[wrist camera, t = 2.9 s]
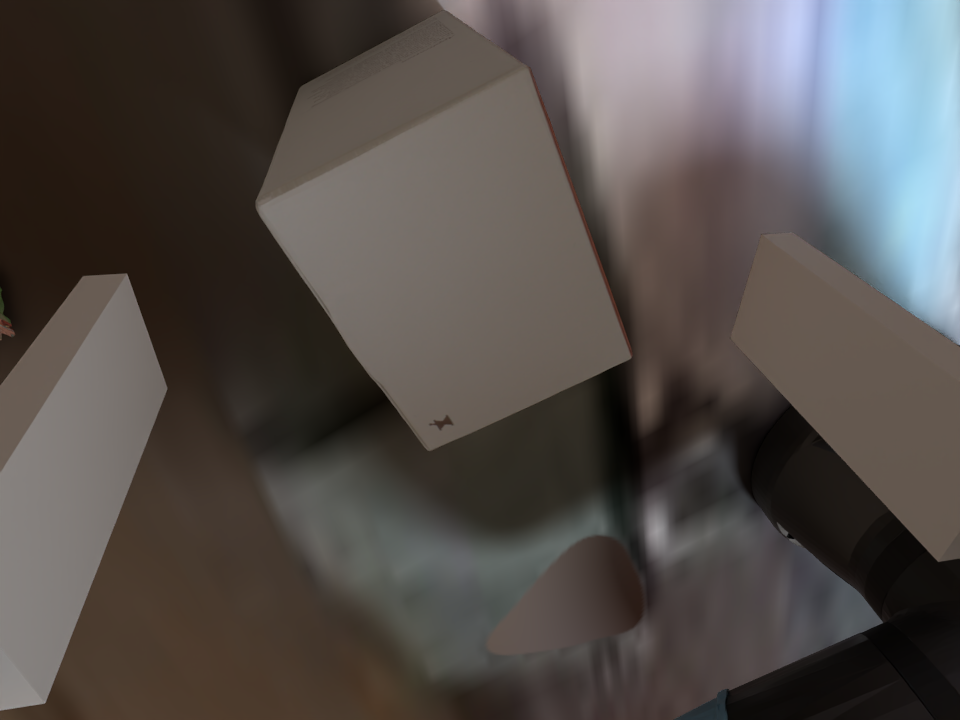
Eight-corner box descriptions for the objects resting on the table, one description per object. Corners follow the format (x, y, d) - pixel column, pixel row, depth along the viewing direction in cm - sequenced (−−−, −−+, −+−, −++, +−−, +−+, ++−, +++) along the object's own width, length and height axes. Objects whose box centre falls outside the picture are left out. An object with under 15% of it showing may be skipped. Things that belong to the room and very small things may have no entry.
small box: (526, 195, 27) (640, 364, 16) (398, 259, 27) (425, 461, 17) (446, 1, 22) (532, 58, 11) (293, 83, 23) (241, 209, 12)
